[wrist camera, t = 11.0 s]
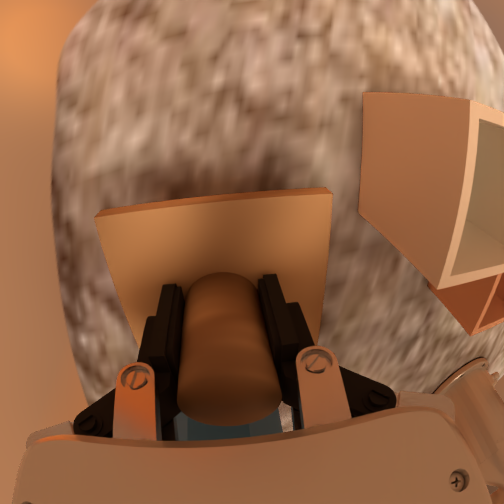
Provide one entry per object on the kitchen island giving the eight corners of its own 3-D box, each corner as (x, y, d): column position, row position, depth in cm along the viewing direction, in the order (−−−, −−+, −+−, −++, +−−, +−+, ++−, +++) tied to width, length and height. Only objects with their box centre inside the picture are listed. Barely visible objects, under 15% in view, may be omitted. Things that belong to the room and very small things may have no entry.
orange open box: (492, 212, 20) (543, 247, 14) (473, 275, 23) (514, 316, 17) (445, 214, 19) (504, 256, 13) (427, 286, 23) (470, 336, 17)
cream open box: (453, 109, 15) (551, 135, 7) (442, 208, 19) (522, 266, 11) (362, 92, 15) (470, 99, 7) (357, 212, 19) (436, 289, 11)
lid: (325, 187, 11) (405, 262, 6) (311, 346, 16) (342, 434, 11) (101, 210, 10) (30, 298, 5) (152, 361, 15) (141, 454, 10)
